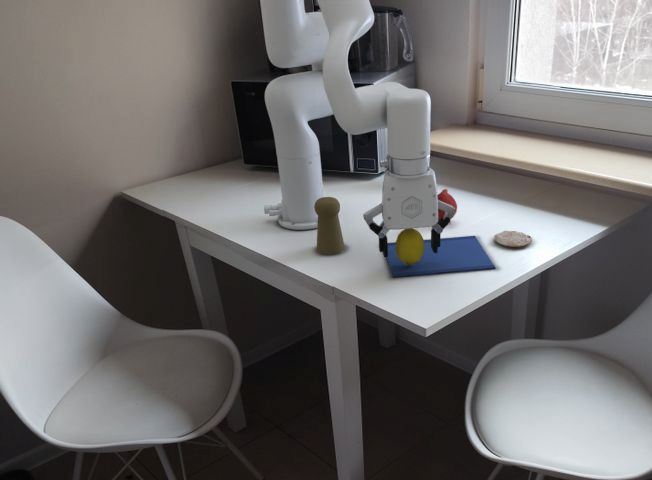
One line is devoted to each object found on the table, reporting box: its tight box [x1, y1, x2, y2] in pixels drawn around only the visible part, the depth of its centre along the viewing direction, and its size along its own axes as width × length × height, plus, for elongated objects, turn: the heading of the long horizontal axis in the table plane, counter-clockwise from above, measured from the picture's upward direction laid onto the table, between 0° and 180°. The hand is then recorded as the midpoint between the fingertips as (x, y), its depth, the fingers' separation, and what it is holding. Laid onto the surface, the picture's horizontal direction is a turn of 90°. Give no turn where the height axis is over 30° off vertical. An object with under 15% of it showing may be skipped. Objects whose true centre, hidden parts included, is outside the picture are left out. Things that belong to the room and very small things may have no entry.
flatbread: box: [493, 230, 533, 248], centre depth 130 cm, size 8×8×1 cm
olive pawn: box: [314, 196, 346, 256], centre depth 128 cm, size 6×6×11 cm
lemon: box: [395, 228, 424, 266], centre depth 119 cm, size 6×6×8 cm
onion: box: [437, 188, 458, 221], centre depth 138 cm, size 6×6×8 cm
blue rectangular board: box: [385, 235, 496, 279], centre depth 125 cm, size 20×16×1 cm
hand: (409, 252), depth 120 cm, fingers open, 9 cm apart
